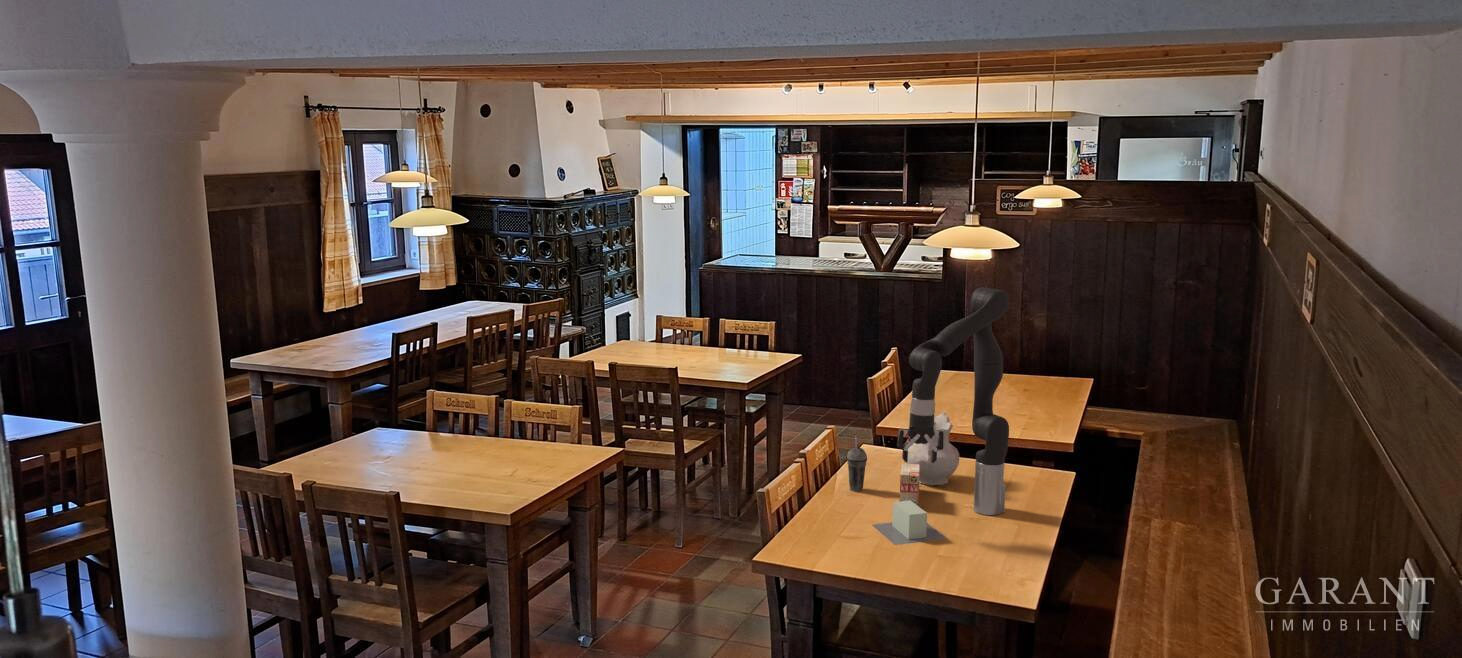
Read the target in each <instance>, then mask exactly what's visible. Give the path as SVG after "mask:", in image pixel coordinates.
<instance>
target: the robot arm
mask: <svg viewBox="0 0 1462 658" xmlns="http://www.w3.org/2000/svg"><path fill="white" fill-rule="evenodd" d="M1009 307H1010V297H1009V295H1008V294H1007V292H1005V291H1004V290H1001V289H995V288H990V287H989V288H988V287H978V288H976V289H975V290H974V291H973V292H972V294H971V298H970V313H971V314H970V315H968V316H966V317H964V318H961V319H959V320H957V321H954V322H952V323H951V324H949V325H947V326H946V327H945V328H944V329H942V330H941V331H940V332H939V333H938V334H937V335H936V336H935V337H933V338H931V339H929V340H926V341H925V342H923V343H921V344H919V345H918V346H916V347H915V348H914V349H913V350H912V351H911V353H910V354H909V358H908V363H909V365H910V366H911V368H913V369H914V370H917V371H920V372H922V376H921V377H919V378H915V379H914V380H913V382H912V389H911V392H912V393H911V400H910V401H911V402H910V409H909V424H908V429H902V428H901V427H900V428H899V429H898V433H897V434H898V435H897V442H896V446H897V448H898V449H899V450H902V454H901V455H902V457H901V458H902V461H904V463H906V462H908V449H909V447H910V446H912V445H913V444H914V443H916V444H920V443H921V444H926V443H929V445H930V446H931V447H932V451H931V462H932V463H934V462H935V461H936V460H937V451H938V450H943V431H942V430H938V431H934V429H933V428H934V417H935V412H936V407H935V406H936V401H935V398H936V397H935V396H936V385H937V382H938V380H939V376H940V373H941V371H942V368H943V359H942V357H945V356H949V355H950V354H952V353H953V352H955V350H956V349H957V348H958V347H960V345H962V344H963V343H964V342H965V341H967V340H968V339H969V338H970V337H972V336H973V349H974V350H973V375H974V395H973V396H974V399H973V400H974V401H973V410H972V421H971V425H972V431H973V434H974V436H975V437H976V438H978V439H980V440H983V441H985V447H984V449H980V450H978V451H977V452H976V454H975V466H974V467H975V468H974V470H975V472H974V491H973V511H974V512H975V513H977V514H981V515H984V516H996V515H1000V514H1002V513H1005V509H1006V508H1005V507H1006V506H1005V504H1006V488H1007V487H1006V486H1007V485H1006V484H1005V483H1004V475H1005V474H1004V473H1005V472H1004V471H1005V458H1006V456H1007V453H1008V449H1009V448H1008V447H1009V437H1010V425H1009V421H1008V420H1007V419H1006V418H1005V417H1003V416H1000V415H997V414H994V410H993V401H994V400H993V399H994V395H995V393H996V391H997V390H998V387H999V385H1000V384H1001V382H1002V379H1003V376H1004V357H1003V355H1004V354H1003V352H1002V349H1001V348H1000V345H999V343H998V341H997V339H996V337H995V335H994V333H993V329H992V323H993V322H995V321H997V320H998V319H1000V318H1002V316H1004V315H1005V314H1006V313H1007V311H1008V310H1009ZM935 434H936V436H937V437H938V445H937V446H935V445H934V443H933V442H932V440H931V438H932V437H933V436H934V435H935ZM906 435H908V436H909V437H908V438H907V440H906V442H905V443H904V444H903V442H904V437H906Z"/></svg>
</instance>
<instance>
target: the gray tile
mask: <svg viewBox="0 0 1462 658" xmlns="http://www.w3.org/2000/svg"><path fill="white" fill-rule="evenodd" d="M871 526H872V527H874V529H876V530H877V531H878V532H879V533H880V534H881V535H883V536H884V537H885V538H886V539H887V540H888V541H890V542H891V543H892V544H893V545H894V546H898V545H907V544H916V543H917V544H918V543H925V542H933V541H943V540H948V538H947V537H946V536H945V535H943V534H942V533H941V532H940V531H938V530H937V529H935V527H933V526H931V525H930V524H929V522H927V531H926V538H917V539H908V538H906V537H905V536H904V535H903V534H901V533H900V532H899V531H898V530H897V529H895V528H894V527H893V526H892V522H884V523H882V522H881V523H875V524H871Z"/></svg>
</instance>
